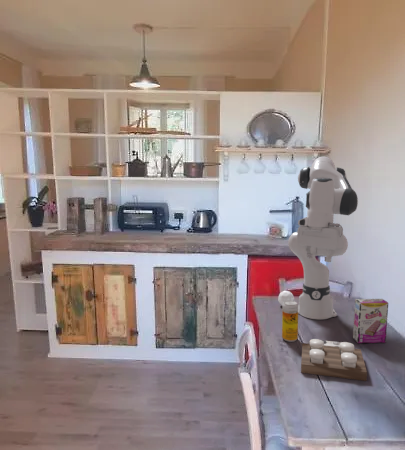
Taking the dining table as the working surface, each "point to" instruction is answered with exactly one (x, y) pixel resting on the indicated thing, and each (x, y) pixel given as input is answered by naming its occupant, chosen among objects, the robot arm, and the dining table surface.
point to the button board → (333, 364)
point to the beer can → (290, 321)
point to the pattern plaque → (331, 343)
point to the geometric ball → (285, 297)
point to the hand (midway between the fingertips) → (318, 259)
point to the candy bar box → (370, 320)
